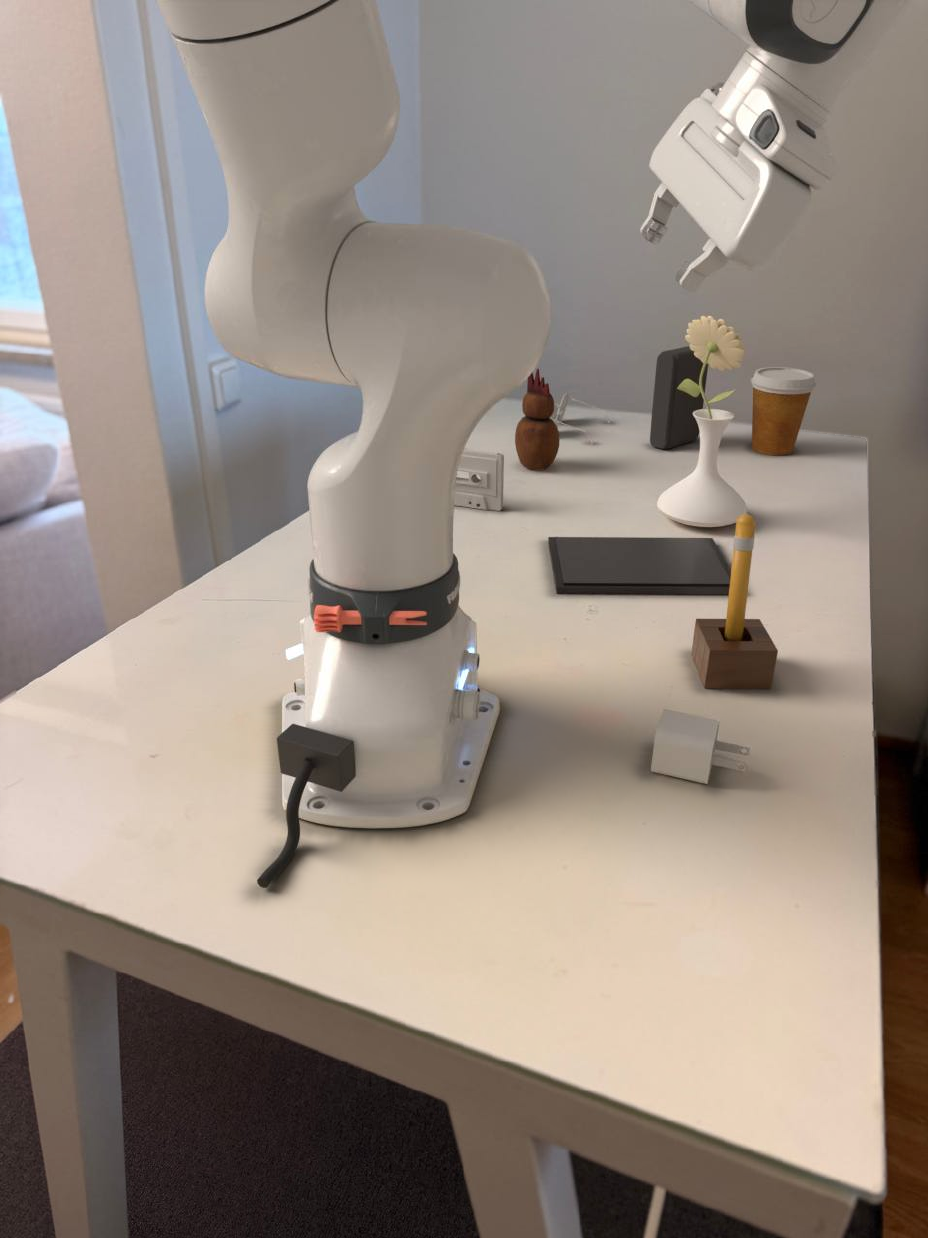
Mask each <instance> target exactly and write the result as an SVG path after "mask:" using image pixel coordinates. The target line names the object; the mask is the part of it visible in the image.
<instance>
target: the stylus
mask: <svg viewBox="0 0 928 1238" xmlns="http://www.w3.org/2000/svg"><path fill="white" fill-rule="evenodd" d="M755 530H756V519H755V518H754V516H752V515H751V514H748V513H746V514H745V515H742V516H740V517H739V518H738V519H737V522H736V523H735V532H734V536H733V544H732V545H733V546H732V547H733V549H732V550H733V551H732V559H731V568H730V570H731V578H730V588H729V595H728V598H727V607H726V608H727V609H726V617H725V619H726V626H725V636H724V641H742V638H743V629H744V620H745V619H746V611H747V603H748V602H747V601H748V592H749V585H750V576H751V567H752V557H753V550H754V546H755V545H754V544H755V533H756V532H755Z"/></svg>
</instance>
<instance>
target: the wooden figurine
mask: <svg viewBox="0 0 928 1238" xmlns="http://www.w3.org/2000/svg"><path fill="white" fill-rule="evenodd" d="M521 405H522V406H521V407H522V409H521V410H522V413H523V415H524V416H523V417H521V419H520V420H519V421H518V422H517V425H516V428H515V433H514V441H515V442H514V443H515V444H514V445H515V450H516V454H517V457H518V460H519V462H520V464H521V465H522V466H523V467H524V468H527V469H529V470H533V471H541V470H542V471H543V470H546V469H549V468H550V467H551V466H552V465H553V464H554V461H555V460H556V458H557V455H558V452H559V449H560V440H561V439H560V432H559V428H558V426H557V424H556V422H555V421H553V420H552V419H550V417H551V416H552V414H553V412H554V405H555V399H554V396H552V394H551V391H550V384H549V383H548V382H547V383H545V377H544V376H542V377H541V375H540V368H536V369H535V376H534V371H533V372H532V373H531V375H530V376H529V377H528V378H527V385H526V393H525V395H524V396H523V399H522V403H521Z"/></svg>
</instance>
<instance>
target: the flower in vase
mask: <svg viewBox="0 0 928 1238" xmlns="http://www.w3.org/2000/svg"><path fill="white" fill-rule="evenodd" d="M687 327H688V328H687V329H686V335H684V337H685V340H686V342H687V343H688V344H689V345H688V346H689V347H690V349H691V350H692V351H694V355H695V356H696V357H697V358H699V359H700V360H701V361H702V363H704V364H703V367H702V370H701V374H700V378H699V385H697V384H696V383H695V382H693V381H692V380H690V379H685V380H684V381H683V382H682V383H681V384H680V385H679V386H678V388H677V389H679V390H682V391H684V392H686V393H688V394H690V395H692V396H693V397H697V396H698V395H699V394H700V392H701V394H702V397H703V399H704V404H705V407H706V408H703V409H700V410H696V411H694V412H693V416H694V417H695V419H696V421H697V423H698V426H699V431H700V432H699V454H698V461H697V464H696V466H695V469H694V470H693V472H691V473H690V474H689V475H688V476H686V477H685V478H683V479H681V480H679V481H678V482H675V483H674V484H673V485H671V486H670V487H669V488H667V489H666V490H665V491H663V492H662V493H661V494H660V495H659V498H658V499H657V502H656V506H657V508H658V510H659V511H660V513H661V514H662V515H663V516H664V517H666V518H668V519H670V520H672V521H675V522H677V523H680V524H684V525H687V526H692V527H698V528H719V527H726V526H729V525H733V524H736V522H737V519H738V518H739V517H740V516H742V515H745V514H748V507H747V504H746V502H745V500H744V499H743V497H742V496H741V495H740V493H739V492H737V490H735V489H734V488H733V487H732V486H731V485H730V484H729V483H728V482H726V480H724V479H723V478H722V476H721V475H720V473H719V471H718V465H717V463H718V454H719V449H720V448H719V447H720V444H721V440H722V437H723V435H724V432H725V430H726V428H727V427H728V425H729V424H730V423H731V421H732V420H733V419H734V418H735V414H734V413H733V412H731V411H728V410H724V409H719V408H711V407H710V404H712V403H717V402H719V401H722V400H725V399H726V398H727V397H729V396H730V395H732V394H733V393H734V391H735V389H733V390H730V391H725V392H721V393H719V394H717V395H716V396H714V397H713V398H712V399H710V400H709V401H708V399H707V396H706V394H704V391H703V387H702V377H703V373H704V370H705V367H706V364H708V365H709V366H710V368H711V369H712V370H718V371H721V372H726V370H728V371H733V369H739V368H741V367H742V364H741V362H743V361H744V356H745V354H746V352H745V345H744V344H743V343H741V340H742V336H741V334H739V333H735V332H736V330H735V328H734V327H733V326H727V324H726V321H725V319H723V318H719V319H718V320H716V319H714V316H711V315H708V316H705V315H701V316H700V318H697V319H693V320H692V321H691V322H688V324H687Z"/></svg>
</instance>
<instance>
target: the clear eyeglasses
mask: <svg viewBox="0 0 928 1238" xmlns="http://www.w3.org/2000/svg"><path fill="white" fill-rule="evenodd" d="M569 400H572V401H574V402H577V403H580V404H583V405H586V406H589V407H592V408H595V410H599V411H601V412H603V413H604V415H605V418H606V420H607V423H608V424H610V423H611V421H610V420H609V416H608V415H607V413H606V412H605V410H603V409H601V408H598V407H595V406H592V405H590V404H588V403H585V402H582V401H580V400H577V399H575V398H572V397H570V396H569V393H567V392H566V393H565V394H564V395H563V396H562V399H561V401H560V405H559V406H558V404H555V403H554V412H553V414H552V416H551V417H550V419H552V420H553V421H554V423H557V424H561V425H564V426H568V427H570V428H573V429H576V430H578V431H581V432H583V433H585V434H586V435H587V436H588V438H589V441H590V442H591V443H590V444H592V445H593V444H594V442H593V440H592V437H591V436H590V434H589V433H588V432H587V431H586V430H584V429H581V428H578V427H575V426H572V425H569V424H568V423H564V422H562V419H563V418H564V416H565V412H566V408H567V405H568V402H569Z"/></svg>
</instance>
